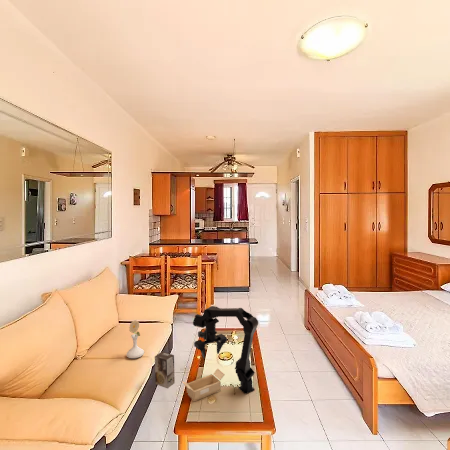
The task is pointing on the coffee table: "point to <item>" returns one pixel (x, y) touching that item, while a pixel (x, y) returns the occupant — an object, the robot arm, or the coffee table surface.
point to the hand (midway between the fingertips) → (210, 355)
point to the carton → (203, 387)
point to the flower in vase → (134, 341)
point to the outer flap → (187, 385)
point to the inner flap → (218, 374)
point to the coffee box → (164, 369)
